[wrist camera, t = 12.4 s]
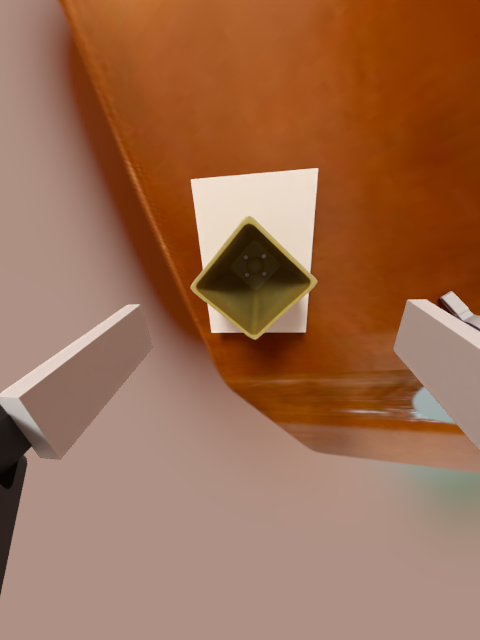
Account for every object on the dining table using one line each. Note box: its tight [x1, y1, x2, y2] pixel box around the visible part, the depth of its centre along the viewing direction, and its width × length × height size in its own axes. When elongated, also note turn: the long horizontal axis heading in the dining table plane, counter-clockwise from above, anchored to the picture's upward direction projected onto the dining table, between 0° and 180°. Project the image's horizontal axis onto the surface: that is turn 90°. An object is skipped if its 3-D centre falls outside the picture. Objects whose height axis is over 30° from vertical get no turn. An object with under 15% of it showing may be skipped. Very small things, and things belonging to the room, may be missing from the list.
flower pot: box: [191, 216, 317, 340], centre depth 25 cm, size 9×9×9 cm
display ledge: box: [191, 168, 318, 333], centre depth 31 cm, size 14×20×4 cm
